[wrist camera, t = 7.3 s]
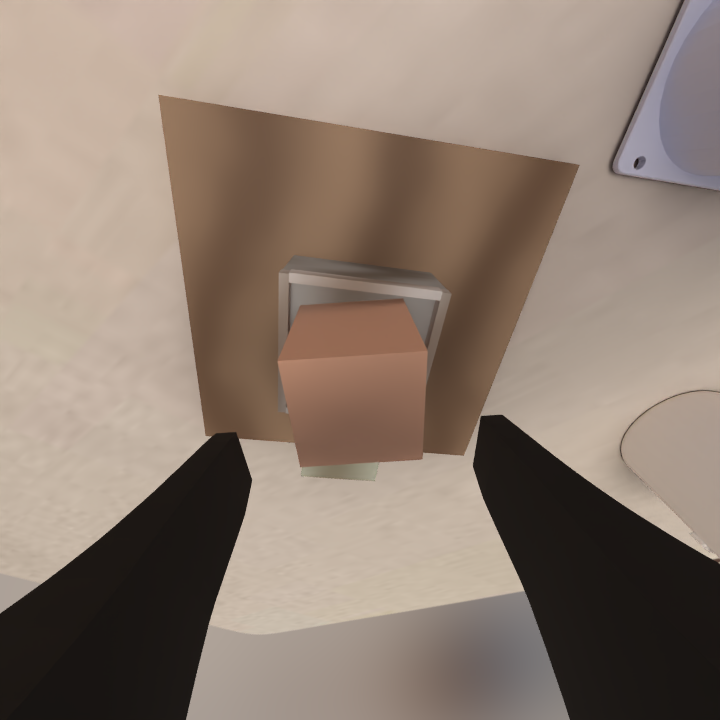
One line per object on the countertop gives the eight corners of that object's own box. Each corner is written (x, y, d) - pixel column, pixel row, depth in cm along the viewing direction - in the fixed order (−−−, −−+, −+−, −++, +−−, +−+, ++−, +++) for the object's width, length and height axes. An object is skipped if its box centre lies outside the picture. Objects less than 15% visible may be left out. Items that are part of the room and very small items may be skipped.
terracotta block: (403, 298, 14) (427, 350, 9) (402, 384, 16) (422, 459, 12) (300, 305, 14) (277, 361, 9) (314, 390, 16) (300, 467, 12)
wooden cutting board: (566, 166, 15) (645, 159, 11) (459, 445, 24) (482, 499, 20) (171, 100, 13) (94, 64, 9) (211, 425, 22) (180, 479, 18)
